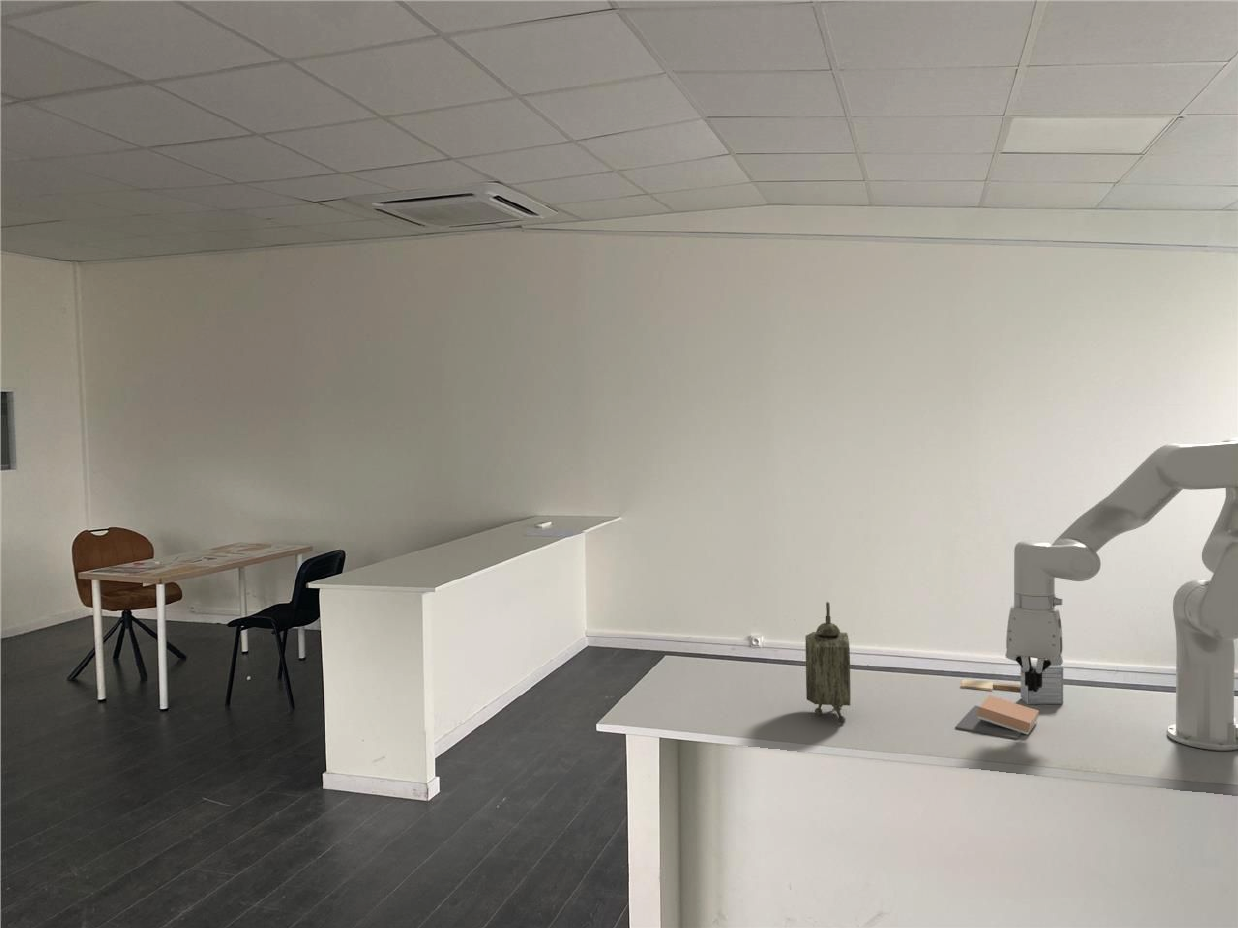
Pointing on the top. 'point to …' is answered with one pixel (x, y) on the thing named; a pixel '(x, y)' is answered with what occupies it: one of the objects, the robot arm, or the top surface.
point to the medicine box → (1045, 687)
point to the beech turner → (988, 685)
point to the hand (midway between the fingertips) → (1033, 689)
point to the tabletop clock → (828, 667)
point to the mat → (985, 726)
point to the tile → (1008, 714)
